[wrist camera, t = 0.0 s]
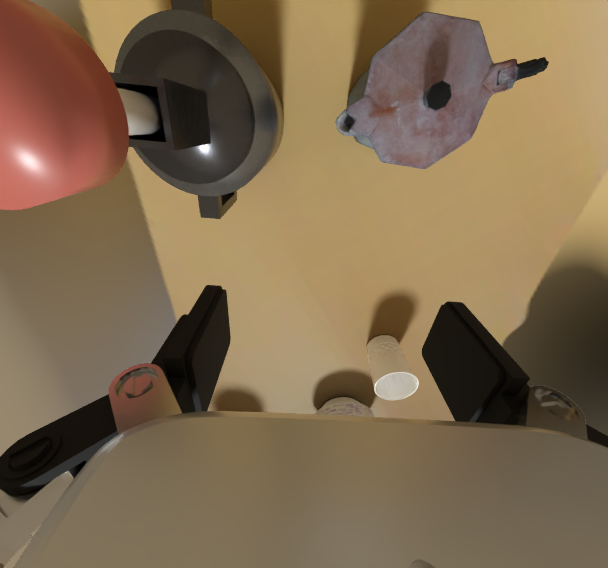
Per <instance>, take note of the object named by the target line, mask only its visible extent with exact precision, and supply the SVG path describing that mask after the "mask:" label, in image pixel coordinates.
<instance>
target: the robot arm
mask: <svg viewBox="0 0 608 568" xmlns="http://www.w3.org/2000/svg"><path fill="white" fill-rule="evenodd" d="M229 345H230V327H229V316H228V305H227V293H226V290H223V289H222V287H221V286H214V285H206V287H205V288H204V290H203V292H202V293H201V295H200V297H199V298H198V300H197V301H196V303H195V305H194V306H193V308H192V310H191V311H190V313H189V315H185V314H184V315H182V316H181V318H180V319H179V320H178V322H177V324H176V325H175V327H174V328H173V330H172V331H171V333H170V335H169V336H168V338H167V339H166V341H165V342H164V344H163V346H162V347H161V349H160V350H159V352H158V353H157V355H156V357H155V358H154V359H153V361H152V363H151V364H149V363H146V364H139V365H135V366H133V367H130V368H128V369H126V370H124V371H123V372H121V373H120V374H119V375H118V376H116V378H115V379H114V380H113V381H112V383H111V385H110V387H109V394H108V395H106V396H104V397H102V398H100V399H98V400H96V401H94V402H92V403H90V404H88V405H86V406H84V407H82V408H80V409H78V410H76V411H74V412H72V413H70V414H68V415H66V416H64V417H62V418H60V419H58V420H56V421H54V422H52V423H50V424H48V425H46V426H44V427H42V428H40V429H38V430H36V431H34V432H32V433H30V434H28V435H26V436H25V437H23V438H21V439H20V440H18V441H17V442H16V443H14V444H13V445H12V446H11V447H10V448H8V449H7V450H6V451H5V452H4V454H3V455H2V456H1V457H0V568H4V566H5V564H7V562H8V561H9V560H10V559H11V558H12V557H13V556H14V555H15V553H16V552H17V551H18V550H19V549H21V548H22V547H23V546H24V545H25V544H26V543H27V542H28V541H29V540H30V539H31V538H32V535H31V533H32V532H33V531H34V530H35V529H36V528H38V527H39V526H40V525H41V524H42V525H41V526H40V528H39V529H38V531H37V532H36V534H35V535H34V537H33V538H32V540H31V541H30V543H29V544H28V546H27V547H26V549H25V550H24V552H23V554H22V555H21V557H20V558H19V560H18V561H17V563H16V565H15V566H14V567H13V568H608V436H606V435H605V434H603V433H601V432H599V431H597V430H595V429H594V428H592V427H590V426H588V425H586V421H585V417H584V414H583V412H582V411H581V409H580V408H579V407H578V406H577V405H576V404H575V403H574V402H573V401H572V400H571V399H569V398H568V397H567V396H565V395H564V394H562V393H560V392H558V391H557V390H554V389H552V388H549V387H546V386H542V385H534V386H532V387H529V386H528V385H527V384H526V383H527V382H528V381H529V379H530V378H529V377H528V376H527V374H526V373H525V372H524V371H523V370H522V369H521V368H520V367H519V365H518V364H517V363H516V362H515V361H514V360H513V359H512V358H511V356H510V355H509V354H508V353H507V352H506V351H505V350H504V349H503V347H502V346H501V345H500V344H499V343H498V342H497V341H496V340H495V338H494V337H493V336H492V335H491V334H490V333H489V332H488V331H487V329H486V328H485V327H484V326H483V325H482V324H481V323H480V322H479V320H478V319H477V318H476V317H475V316H474V315H473V314H472V313H471V311H470V310H469V309H468V308H467V307H466V306H465V305H464V304H463V303H461V302H446V303H445V304H444V305H442V306H441V307H440V309H439V312H438V314H437V316H436V318H435V321H434V323H433V325H432V327H431V330H430V332H429V334H428V337H427V339H426V341H425V343H424V346H423V348H422V356H423V358H424V360H425V362H426V364H427V366H428V368H429V370H430V372H431V374H432V376H433V378H434V380H435V382H436V384H437V386H438V388H439V390H440V392H441V394H442V396H443V398H444V400H445V401H446V403H447V405H448V407H449V409H450V411H451V413H452V415H453V417H454V419H455V421H440V420H421V419H402V418H382V417H361V416H340V415H318V414H295V413H272V412H237V411H207V410H208V407H209V404H210V401H211V398H212V395H213V392H214V389H215V386H216V383H217V380H218V377H219V374H220V371H221V368H222V365H223V363H224V360H225V357H226V354H227V351H228V348H229Z"/></svg>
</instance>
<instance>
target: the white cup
mask: <svg viewBox="0 0 608 568" xmlns="http://www.w3.org/2000/svg"><path fill="white" fill-rule="evenodd" d="M367 354H368V361H369V367H370V372H371V377H372V381H373V386H374V391H375V393H376V394H377V395H378V396H379V397H381V398H383V399H386V400H399V399H403V398H406V397H408V396H410V395H411V394H413V393H414V392H415V391H416V390H417V388H418V386H419V381H418V379H417V377H416V375H415V373H414V371H413V369H412V367H411V365H410V363H409V361H408V359H407V357H406V355H405V353H404V351H403V350H402V348H401V347H400V345H399V343H398V341H397V340H396V339H395V338H394V337H392V336H390V335H380V336H377V337H374V338H373V339H372V340H370V341H369V343H368V345H367Z"/></svg>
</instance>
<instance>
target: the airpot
mask: <svg viewBox="0 0 608 568" xmlns="http://www.w3.org/2000/svg"><path fill="white" fill-rule="evenodd" d="M171 5H172V10H167V11H161V12H158V13H155V14H153V15H150V16H148V17H147V18H145V19H143V20H142V21H140V22H139V23H138V24H137V25H136V26H135V27H134V28H133V29H132V30H131V31H130V33H129V34H128V35H127V37H126V38H125V40H124V42H123V44H122V46H121V48H120V50H119V53H118V56H117V60H116V65H115V70H114V73H111V72H109V74H110V76H111V77H112V79H113V81H114V83H115V85H116V87H117V88H120V89H125V90H130V91H135V92H140V93H146V94H150V95H153V96H155V97H157V98H158V99H159V102H160V108H161V114H162V120H163V126H164V131H163V132H162V133H158V134H143V135H129V146H128V147H133V148H134V149H135V151H136V153H137V154H138V155H139V157H140V158H141V159H142V160H143V162H144V163H145V164H146V165H147V166H148V167H149V168H150V169H151V170H152V171H153V172H154V173H155V174H157V175H158V176H159V177H160V178H161V179H163V180H164V181H166V182H167V183H169V184H170V185H172V186H174V187H176V188H178V189H180V190H182V191H185V192H188V193H191V194H195V195H198V201H199V208H200V214H201V217H203V218H215V219H220V218H221V217H222V216H223V215H224V214H225V213H226V212H227V211H228V209H229V208H230V207H231V206H232V205H233V204H234V203H235V202H236V200H237V192H236V190H238V189H240V188H241V187H243V186H245V185H246V184H247V183H248V182H249V181H251V180H252V179H253V178H254V177H255V176H256V174H257V173H258V172H259V171H260V170H261V169H262V168H263V167H264V166H265V165H266V164H267V163H268V162H269V161H270V160H271V159H272V157H273V156H274V155H275V153H276V151H277V149H278V147H279V145H280V142H281V139H282V134H283V127H284V117H283V109H282V105H281V101H280V98H279V96H278V93H277V91H276V89H275V87H274V85H273V84H272V82H271V81H270V79H269V78H268V76H267V75H266V74H265V72H264V71H263V70H262V69H261V67H260V66H259V65H258V63H257V62H256V61H255V59H254V58H253V57H252V55H251V54H250V53H249V51H248V50H247V49H246V48H245V47H244V45H243V44H242V43H241V42H240V41H239V40H238V39H237V38H236V37H235V36H234V35H233V34H232V33H231V32H230V31H229V30H227V29H226V28H225V27H223V26H222V25H221V24H219V23H218V22H216V21H214V20H213V18H212V4H211V0H171Z"/></svg>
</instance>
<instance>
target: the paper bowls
mask: <svg viewBox="0 0 608 568" xmlns="http://www.w3.org/2000/svg"><path fill="white" fill-rule="evenodd" d="M315 414H318V415H340V416H361V417H374V415H373V412H372V410H371V409H370V408H369V407H368V406H366V405H364V404H361V403H359V402H358V401H357V400H355V399H352V398H348V397H338V398H334V399H331V400H329V401H327V402H326V403H325V404H324V405H323V406H322V408H320V409H319V410H318V411H317V412H316V413H315Z"/></svg>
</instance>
